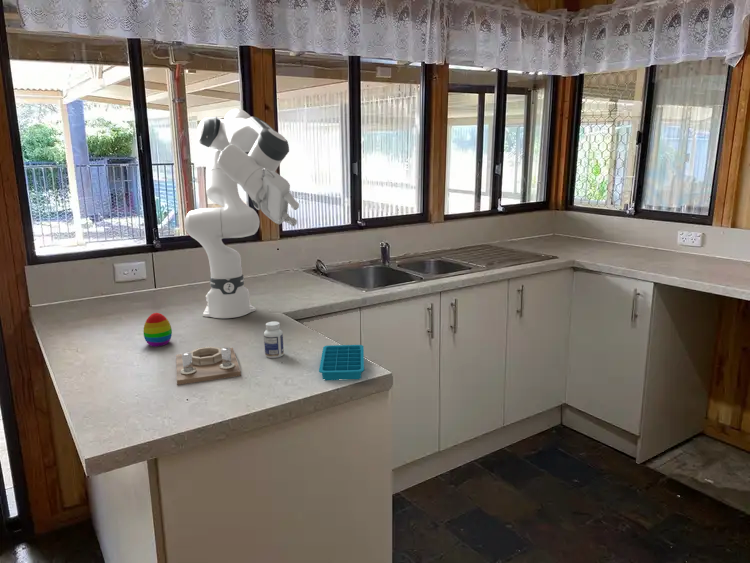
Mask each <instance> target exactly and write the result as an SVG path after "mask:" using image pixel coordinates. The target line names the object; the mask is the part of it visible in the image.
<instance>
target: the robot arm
mask: <svg viewBox="0 0 750 563" xmlns="http://www.w3.org/2000/svg"><path fill="white" fill-rule="evenodd" d="M196 134H197V140H198V142H199V143H200V144H201V145H202V146H204V147H207V148H212V149H214V150H212V151H211V152H210V153H209V154H208V157H207V162H206V169H205V193H206V196H207V197H208V198H207V199H209V200H211V202H213V203H215V204H216V205H219V207H202V208H197V209H193V210H189V211H188V213H187V214H186V215H185V217H184V229H185V232H186V233H187V234H188V235H189V236H190V237H191V238H192V239H194V240H195V241H197V242H198V243H199V244H200V245H201V246H202V248H203V250H204V251H205V253H206V255H207V258H208V262H209V268H210V270H209V271H210V277H209V287H211V288H210V290H209V291H207V294H206V295H205V301H206V302H207V303H206V307H205V309H204V311H203V313H202V316H203V317H205V318H206V317H211V318H215V319H232V318H239V317H243V316H245V315H247V314H250V313H253V312H255V311H256V307H255V306H253V305H252V304H251V301H250V291H249V289H248V288H247V287H246V286H245V285H244V284H245V278H244V274H243V268H242V255H241V254H240V252H239V251H238V250H236V249H234V248H232V247H230V246H228V245H225V243H224V242H223V239H238V238H245V237H250V236H253V235H255V234H257V232H258V230H259V228H260V217H259V215H258V213H257V211H260V210H261V212H262V213H263V214H264V215H265V217H267V218H269V219H270V220H271V221H272V222H273V223H275V224H277V225H281V224H283V223H287V224H289V225H291V227H295V226H296V225H297V223H298V219H296V218H295V216H294V217H291V216H290V215H289V213H288V212H289V211H288V210H289V205H290V208H291V209H293V210H294V211H297V210H299V207H300V203H298V201H296V199H295V198H294V196H293V195H292V193H291V192H290V190H291V189H290V188H291V184H290V183H289V181H288V180H287V179H285V178H284V177H283V176H281V175H280V174H279V173H278V172H277V170H278V168H279V166H280V165H281V163H282V161H283V160H284V159H285V158H286V156H287V155H288V154H289V152H290V145H289V143H288V142H289V141H288V140H287V138H286V137H284V135H282V134H280V132H278V131H276V130H275V129H274V127H273V128H272V126H271V125H270V124H268V123H267V122H266V121H264V120H262V119H261V118H259V117H256V116H251V115H250V114H249V113H248V112H246V110H243V109H241V108H233V109H230V110H229V111H228V112H227V113H226V114H225V116H224V118H223V119H222V118H219V117H218V116H207V117H204V118H202V119H201V120H200V122H199V124H198V127H197V131H196ZM238 185H239V186H241V188H242V189H243V192H246V193H247V194H248V197H249V198H250V199H251V202H252V204H253V206H254V208H255V209H256V210H257V211H256V210H255V209H254V208H253V207H251V206H250V205H247V204H246V203H245V202H244V201H243V200H242V198H241V196H240V194H239V188H238ZM220 206H221V207H220Z"/></svg>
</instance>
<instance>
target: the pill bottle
mask: <svg viewBox="0 0 750 563" xmlns="http://www.w3.org/2000/svg"><path fill="white" fill-rule="evenodd" d="M280 324H281V323H280V321H268V322H266V323H265V331H264V332H263V341H264V342H263V343H264V354H265V357H266V358H269V359H278V358H281V357H283V356H284V355H285V353H284V352H285V351H284V350H285V349H284V333H283V330H282V329H281V325H280Z"/></svg>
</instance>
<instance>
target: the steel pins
mask: <svg viewBox="0 0 750 563" xmlns="http://www.w3.org/2000/svg"><path fill="white" fill-rule="evenodd" d="M221 348H222V349H221V354H222V364H221V365H220V369H231V368H233V367H234V366H235V364H234V363H231V351H230V348H231V347H221ZM189 352H190V351H189ZM189 352H184V353H181V354H182V360H183V369H182V370H181V371H180V372H181V374H183V375H189V374H193V373H195V372H196V368H193V363H192V353H189Z"/></svg>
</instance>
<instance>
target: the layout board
mask: <svg viewBox="0 0 750 563" xmlns="http://www.w3.org/2000/svg"><path fill="white" fill-rule="evenodd" d="M222 348H223V347H216V346H205V347H199V348H194V349H193V350H191V351H189V353H192V363H193V368H196V372H195V373H193V374H189V375H183V374H181V372H180V371H181V370H182V369H183V360H182V354H183V353H181V354H180V353H179V354H176V355H175V357H176V358H175V363H176V385H177V386H178V385H180V386H181V385H185V384H186V385H187V384H193V383H199V382H206V381H207V382H208V381H214V380H215V381H216V380H219V379H229V378H234V377H240V376H241V375H242V374H241V369H240V365H239V363H238V359H237V357H236V353H235V350H234V348H233V347H229V348H230V351H231V363H234V364H235V366H234V367H233V368H231V369H220V365H221V364H222V354H221V349H222Z"/></svg>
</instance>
